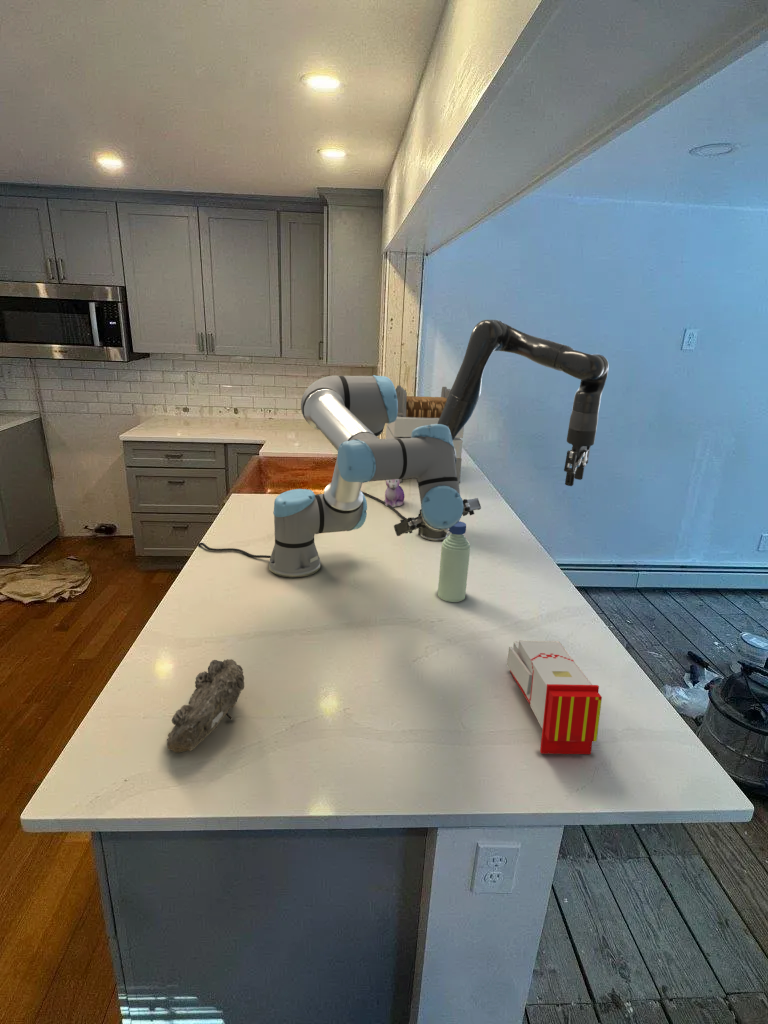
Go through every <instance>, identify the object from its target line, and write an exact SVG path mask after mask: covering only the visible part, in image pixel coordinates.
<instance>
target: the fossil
mask: <svg viewBox="0 0 768 1024" xmlns="http://www.w3.org/2000/svg"><path fill="white" fill-rule="evenodd" d="M243 670H244V669H243V667H242V665H240V664H237V662H236V661H235V660H234V659H232V658H231V659H227V658H226V659H224V660H223V661H222V660H217V659H212V660H211V661H210V663H209V665H208V666H207V671H201V672H199V673H198V674H197V675H196V676H195V680H194V684H195V685H194V687H195V689H194V690H193V693H192V694H191V697H190V698H189V700H188V704H184V705H182V706H181V707H180V709H177V710H176V711H175V713H174V715H173V716H172V718H171V723H172V724H173V727H172V730H171V731H170V732H168V734H167V738H166V741H167V742H166V745H167V749H168V750H169V751H173V752H174V753H176V754H178V753H182V752H188V751H189V752H192V751H193V750H195V748H196V747H197V746H199V744H200V743H201V742H203V741H204V740H205V739H206V738H207V737H208V736H209V735H210V734H211V733H212V732H214V730H215V729H217V727H218V726H219V724H220V722H221V721H222V720H223V719H224V718H225V716H226V717H227V719H229V720H233V717H232V715H230V714H229V710H230V709H231V708H234V706H235V704H236V703H237V702H238V699H239V697H240V695H241V693H242V691H243V690H245V689H244V688H245V675H244V671H243Z"/></svg>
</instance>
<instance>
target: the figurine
mask: <svg viewBox="0 0 768 1024" xmlns="http://www.w3.org/2000/svg"><path fill="white" fill-rule="evenodd" d="M385 484H386V485H385V486H386V489H385V492H384V498H385V499H384V500H383V501H384V502H386V504H384V505H385V507H388V506H387V505H388V504H389V505H390V506H392V507H393V508H395V507H400V506H403V505H404V502H405V490H404V489H403V487H402V486H401V485H400V484H401V482H400V481H399V479H393V480H385Z"/></svg>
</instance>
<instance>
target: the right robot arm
mask: <svg viewBox="0 0 768 1024" xmlns="http://www.w3.org/2000/svg"><path fill="white" fill-rule="evenodd" d="M467 343H468V344H467V347H466V350H465V354H464V357H463V360H462V363H461V364H460V367H459V370H458V372H457V374H456V377H455V379H454V382H453V384H452V386H451V387H450V390H451V391H450V393H449V395H448V398H447V400H446V403H445V406H444V408H443V411H442V413H441V416H440V418H439V421H438V423H437V424H443V425H446V426H447V427H448V428H449V429H450V432H451V436H452V440H454V438H455V437H456V435H457V434H458V433H459V431H460V430H461V429H462V428H463V426H464V427H465V425H466V424H467V423H468V421H469V420H470V418H471V417H472V415H473V414H474V411H475V409H476V407H477V404H478V402H479V400H480V397H481V392H482V381H483V375H484V371H485V368H486V366H487V364H488V362H489V359H490V358H491V356H492V354H493V353H495V352H505V353H511V354H515V355H518V356H521V357H524V358H526V359H528V360H530V361H531V362H533V363H535V364H538V365H540V366H542V367H545V368H549V369H552V370H555V371H559V372H562V373H564V374H566V375H568V376H571V377H573V378H575V379H577V380H580V383H579V387H578V389H577V390H576V391H575V394H574V397H573V403H572V410H571V414H570V417H569V422H568V429H567V436H566V442H567V444H569V445H571V446H572V447H571V449H570V450H569V449H568V450H567V451H566V456H565V462H564V468H563V471H564V472H565V473H566V475H565V481H564V485H565V486H567V487H573V486H574V483H575V480H579V481H582V480H583V478H584V472H585V468H586V467H587V465H588V463H589V458H590V451H591V447H593V446H594V444H595V441H596V436H597V435H596V434H597V430H598V423H599V412H600V406H601V400H602V394H603V392H604V389H605V385H606V382H607V379H608V375H609V367H610V366H609V361H608V359H607V358H606V356H605V355H603V354H602V353H601V354H600V353H592V354H591V353H587V352H583V351H579V350H576V349H574V348H573V347H572V346H569V345H566V344H563V343H560V342H556V341H552V340H550V339H545V338H542V337H537V336H534V335H531V334H528V333H526V332H523V331H521V330H518V329H517V328H514V326H513V327H512V326H510V325H509V324H507V323H505V322H503V321H501V320H499V319H483V320H481V321H479V322H478V323H476V324H475V326H474V328H473V329H472V331H471V333H470V336H469V340H468V342H467ZM454 454H455V464H456V451H455V449H454ZM362 493H363V494H364V496H367V497H370V498H372V499H373V500H375V501H378V502H380V503H382V504H383V505H385V504H386V502H384V501H385V500H382V499H380V498H378V497H376V496H375V495H372V494H370V493H367V492H365V491H362ZM386 507H388V508H389V509H391V510H392V511H393V512H394V513H395V514H397V516H399V518H401V519H402V520H403V519H405V520H406V519H408V518H407V517H406V516H403V515H402V514H401V513H400V512H399V511H398V510H397V509H396V508H395V507H392V506H390V505H389V504H388V505H387V506H386ZM420 513H421V509H419V514H420ZM417 535H418V536H420V538H421V539H424V540H426V541H432V542H440V541H443V540H444V539H446V537H448V532H444V531H441V532H437V531H433V530H431V529H429V528H428V527H427V528H422V527H421V528H418V529H417Z"/></svg>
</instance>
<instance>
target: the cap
mask: <svg viewBox="0 0 768 1024" xmlns="http://www.w3.org/2000/svg"><path fill="white" fill-rule="evenodd" d="M448 533H449V534H451V533H452V534H456V535H462V534H463V535H465V534H466V533H467V523H466V522H464V521H461V520H459V522H458V523H457V524H455V525H454V526H452V527H451V528H449V532H448Z"/></svg>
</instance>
